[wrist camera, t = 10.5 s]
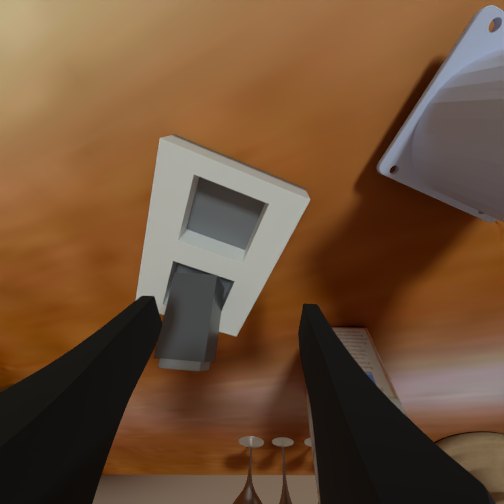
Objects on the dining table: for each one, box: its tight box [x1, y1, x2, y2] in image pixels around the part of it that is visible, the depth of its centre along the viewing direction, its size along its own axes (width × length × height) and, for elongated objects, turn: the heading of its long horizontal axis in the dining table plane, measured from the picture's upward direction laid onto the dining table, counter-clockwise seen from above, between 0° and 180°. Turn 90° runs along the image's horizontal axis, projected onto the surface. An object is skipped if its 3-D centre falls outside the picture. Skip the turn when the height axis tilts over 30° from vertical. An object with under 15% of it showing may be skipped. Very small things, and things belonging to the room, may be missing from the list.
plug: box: [154, 273, 224, 371], centre depth 19 cm, size 4×4×7 cm
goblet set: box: [233, 436, 319, 504], centre depth 34 cm, size 28×6×13 cm, turn 99°
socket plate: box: [136, 135, 310, 337], centre depth 19 cm, size 10×15×2 cm, turn 159°
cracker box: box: [305, 327, 406, 504], centre depth 19 cm, size 14×6×21 cm, turn 2°
